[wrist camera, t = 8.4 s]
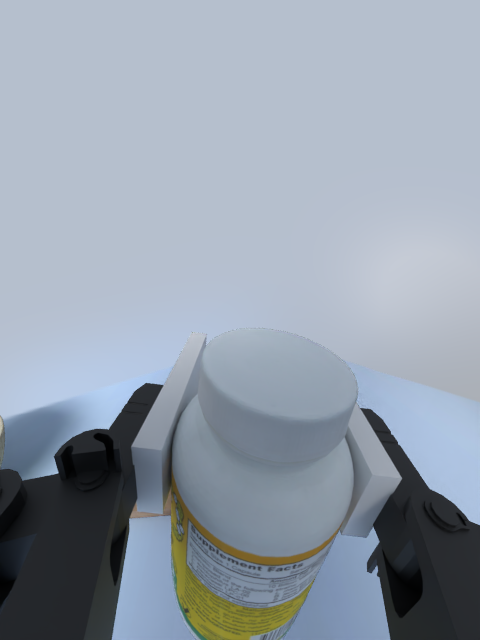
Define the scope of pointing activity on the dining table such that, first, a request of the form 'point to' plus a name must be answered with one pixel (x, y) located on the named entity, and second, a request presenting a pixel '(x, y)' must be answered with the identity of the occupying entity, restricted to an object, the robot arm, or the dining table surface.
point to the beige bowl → (2, 440)
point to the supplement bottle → (258, 482)
